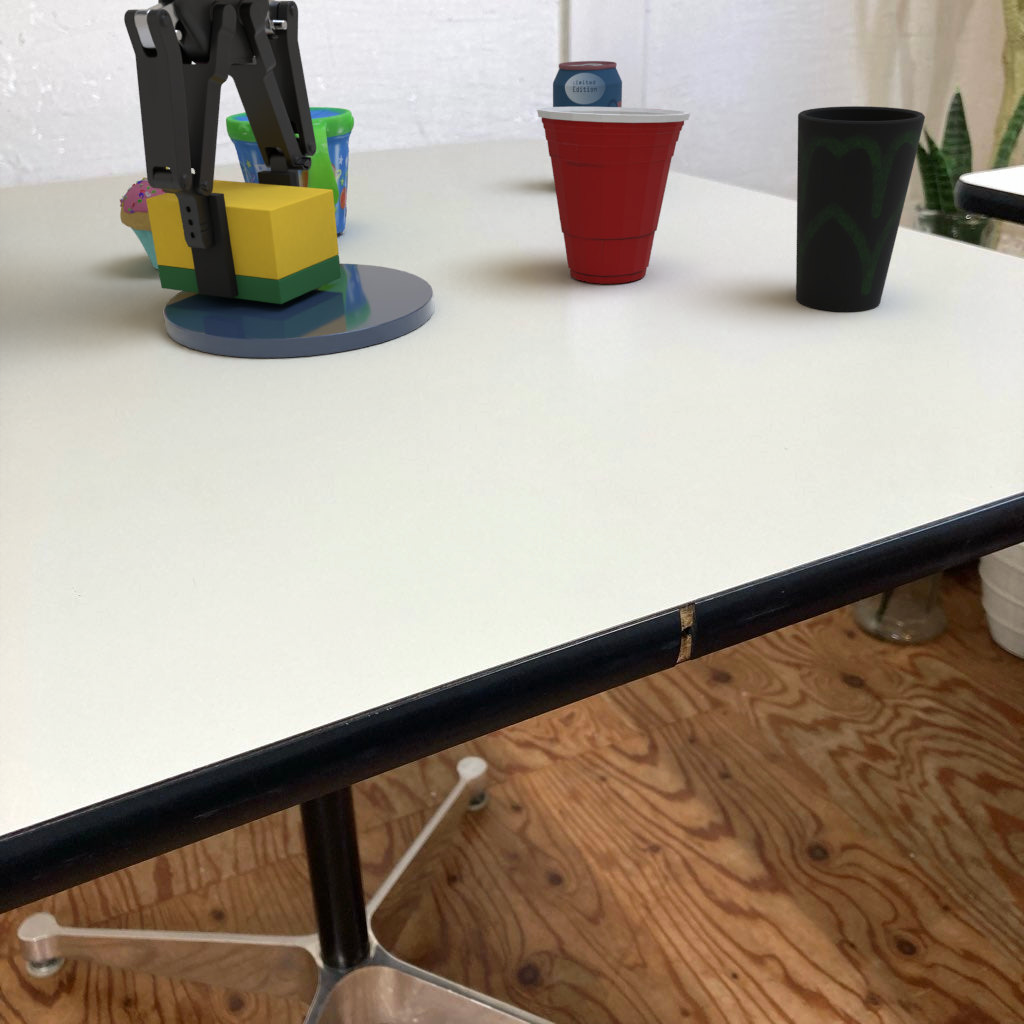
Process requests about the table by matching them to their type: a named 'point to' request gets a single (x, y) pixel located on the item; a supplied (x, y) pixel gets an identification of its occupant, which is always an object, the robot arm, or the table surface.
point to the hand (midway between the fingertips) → (254, 279)
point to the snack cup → (326, 162)
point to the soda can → (587, 85)
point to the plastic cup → (610, 184)
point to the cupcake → (140, 214)
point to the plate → (305, 316)
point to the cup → (850, 201)
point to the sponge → (257, 240)
